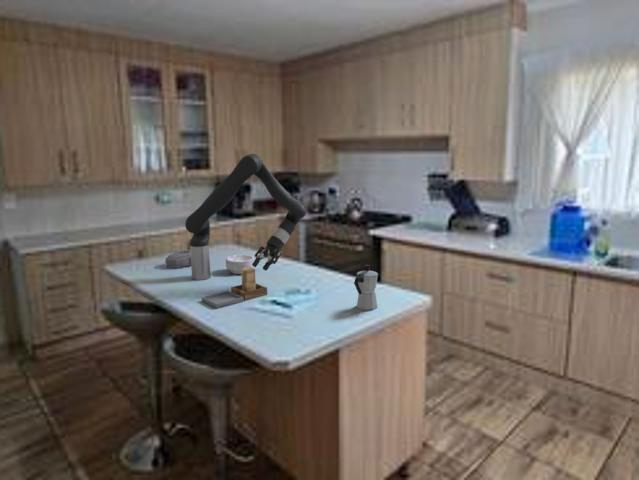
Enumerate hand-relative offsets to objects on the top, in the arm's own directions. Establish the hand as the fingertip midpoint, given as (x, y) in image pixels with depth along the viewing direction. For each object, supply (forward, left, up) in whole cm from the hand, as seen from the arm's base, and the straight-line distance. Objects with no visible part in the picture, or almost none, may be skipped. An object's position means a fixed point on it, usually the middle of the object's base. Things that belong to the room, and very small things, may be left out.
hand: (258, 267), depth 206 cm
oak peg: (0, -6, -12) cm, 13 cm away
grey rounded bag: (-72, -4, -12) cm, 73 cm away
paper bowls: (-36, +12, -12) cm, 40 cm away
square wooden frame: (0, -6, -12) cm, 13 cm away
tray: (0, -19, -12) cm, 22 cm away
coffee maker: (+48, +20, -12) cm, 53 cm away
